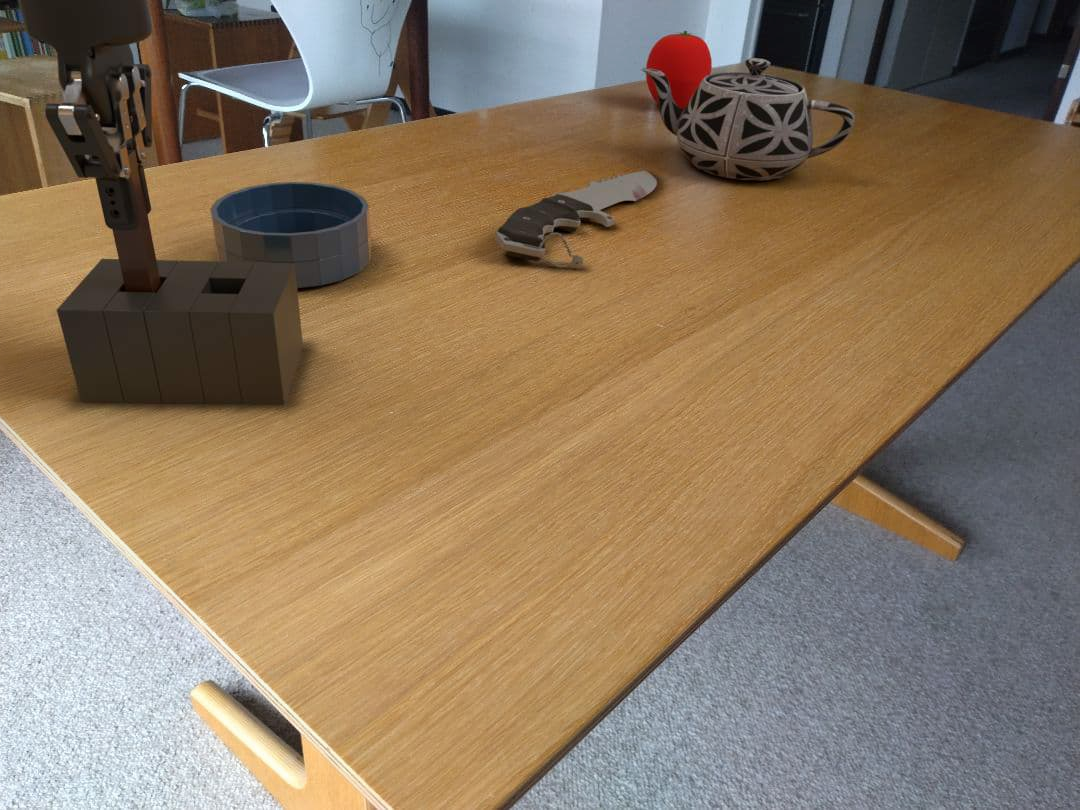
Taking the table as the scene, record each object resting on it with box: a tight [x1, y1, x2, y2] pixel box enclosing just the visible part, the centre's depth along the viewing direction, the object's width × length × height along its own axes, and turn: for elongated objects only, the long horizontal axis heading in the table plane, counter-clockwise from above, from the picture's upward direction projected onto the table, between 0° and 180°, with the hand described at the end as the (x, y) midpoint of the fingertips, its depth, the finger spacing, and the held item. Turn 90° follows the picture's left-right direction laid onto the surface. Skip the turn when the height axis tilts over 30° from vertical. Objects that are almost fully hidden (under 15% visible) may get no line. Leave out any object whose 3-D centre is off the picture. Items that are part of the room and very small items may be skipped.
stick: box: [111, 149, 161, 293], centre depth 66 cm, size 2×2×18 cm
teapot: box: [640, 57, 856, 182], centre depth 124 cm, size 19×31×15 cm, turn 68°
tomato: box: [645, 30, 713, 110], centre depth 152 cm, size 11×11×13 cm
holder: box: [56, 258, 304, 406], centre depth 69 cm, size 15×9×8 cm, turn 94°
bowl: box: [209, 181, 372, 289], centre depth 89 cm, size 15×15×6 cm
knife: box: [494, 169, 658, 270], centre depth 106 cm, size 36×10×4 cm, turn 159°
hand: (129, 220), depth 64 cm, fingers closed on stick, 2 cm apart
